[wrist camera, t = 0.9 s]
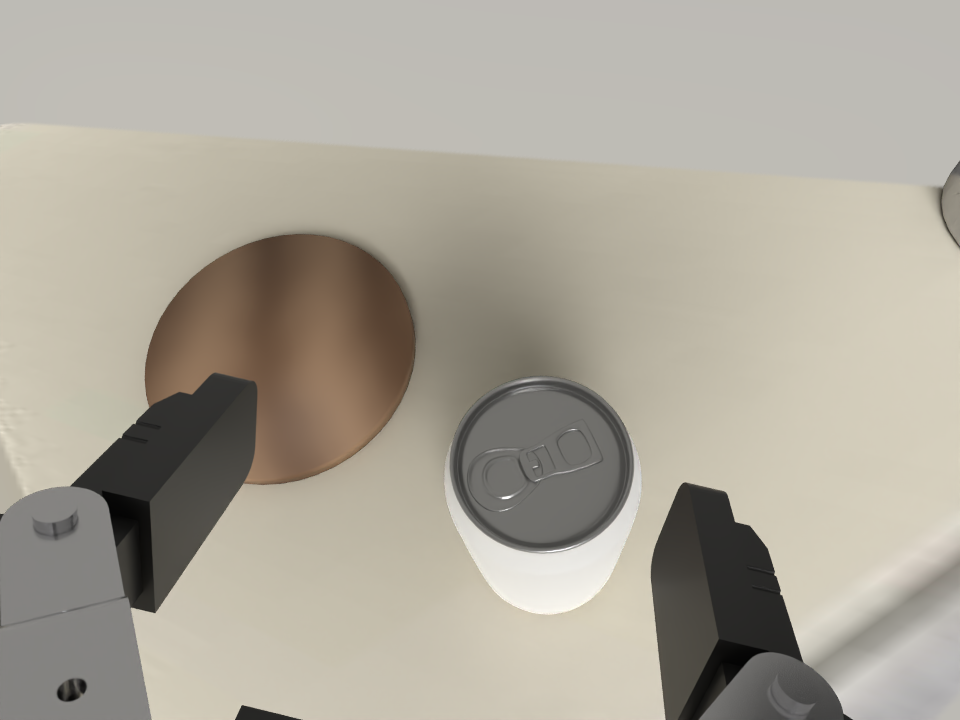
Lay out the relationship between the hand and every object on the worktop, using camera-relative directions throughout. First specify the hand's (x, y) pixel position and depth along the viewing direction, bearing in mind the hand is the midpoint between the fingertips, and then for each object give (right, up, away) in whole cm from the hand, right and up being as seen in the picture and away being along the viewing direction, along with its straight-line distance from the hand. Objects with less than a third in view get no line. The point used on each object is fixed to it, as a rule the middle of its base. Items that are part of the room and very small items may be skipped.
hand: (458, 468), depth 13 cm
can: (+3, -6, +19) cm, 21 cm away
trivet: (-10, +2, +25) cm, 27 cm away
